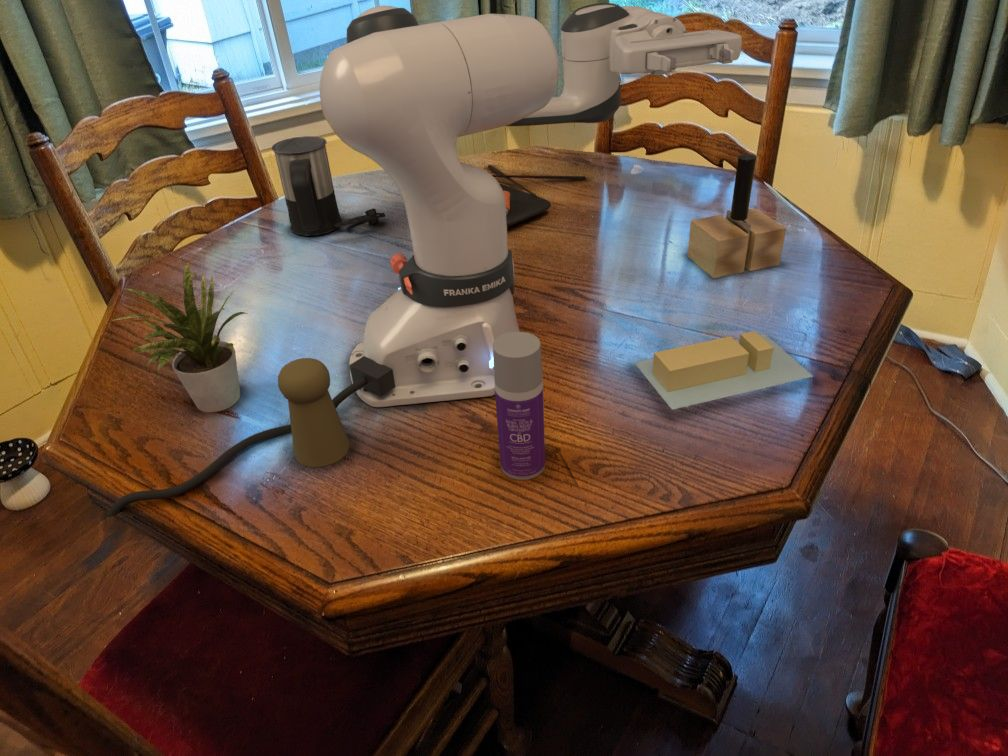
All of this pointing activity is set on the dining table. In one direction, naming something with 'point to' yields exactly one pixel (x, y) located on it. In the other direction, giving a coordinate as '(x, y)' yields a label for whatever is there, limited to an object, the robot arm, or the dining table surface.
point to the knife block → (735, 244)
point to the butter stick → (700, 363)
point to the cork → (312, 413)
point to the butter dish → (730, 380)
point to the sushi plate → (524, 197)
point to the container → (519, 404)
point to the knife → (742, 192)
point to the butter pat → (756, 351)
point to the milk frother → (311, 187)
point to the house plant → (195, 347)
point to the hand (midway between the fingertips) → (700, 61)
